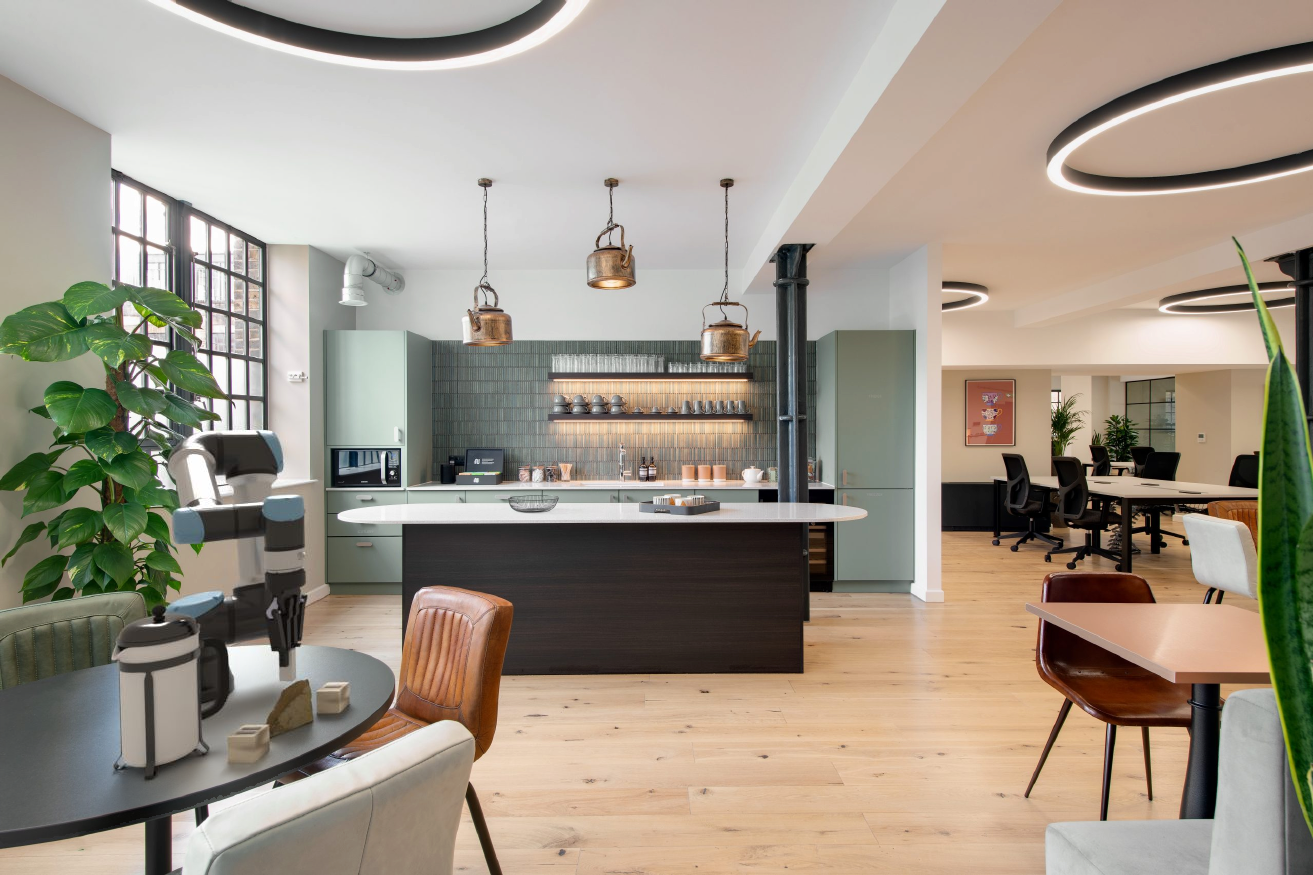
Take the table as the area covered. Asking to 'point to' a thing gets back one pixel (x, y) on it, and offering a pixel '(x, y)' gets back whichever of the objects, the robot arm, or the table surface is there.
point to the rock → (291, 709)
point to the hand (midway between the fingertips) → (287, 679)
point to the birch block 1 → (248, 743)
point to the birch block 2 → (333, 697)
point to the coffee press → (164, 689)
